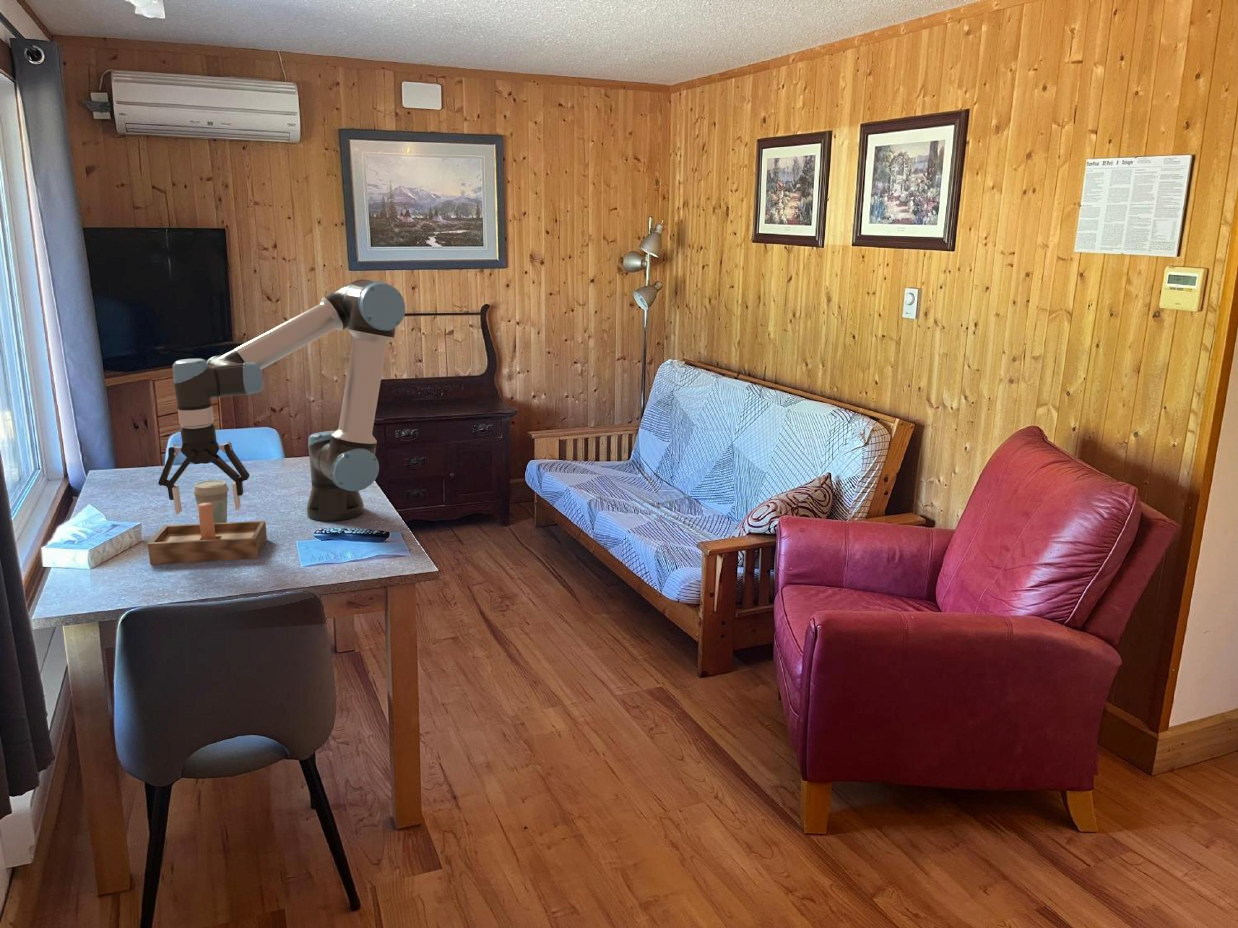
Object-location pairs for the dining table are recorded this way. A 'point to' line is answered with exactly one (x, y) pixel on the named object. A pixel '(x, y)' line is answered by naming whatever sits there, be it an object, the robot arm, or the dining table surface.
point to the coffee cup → (213, 497)
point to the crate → (207, 542)
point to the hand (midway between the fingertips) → (208, 510)
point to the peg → (206, 521)
